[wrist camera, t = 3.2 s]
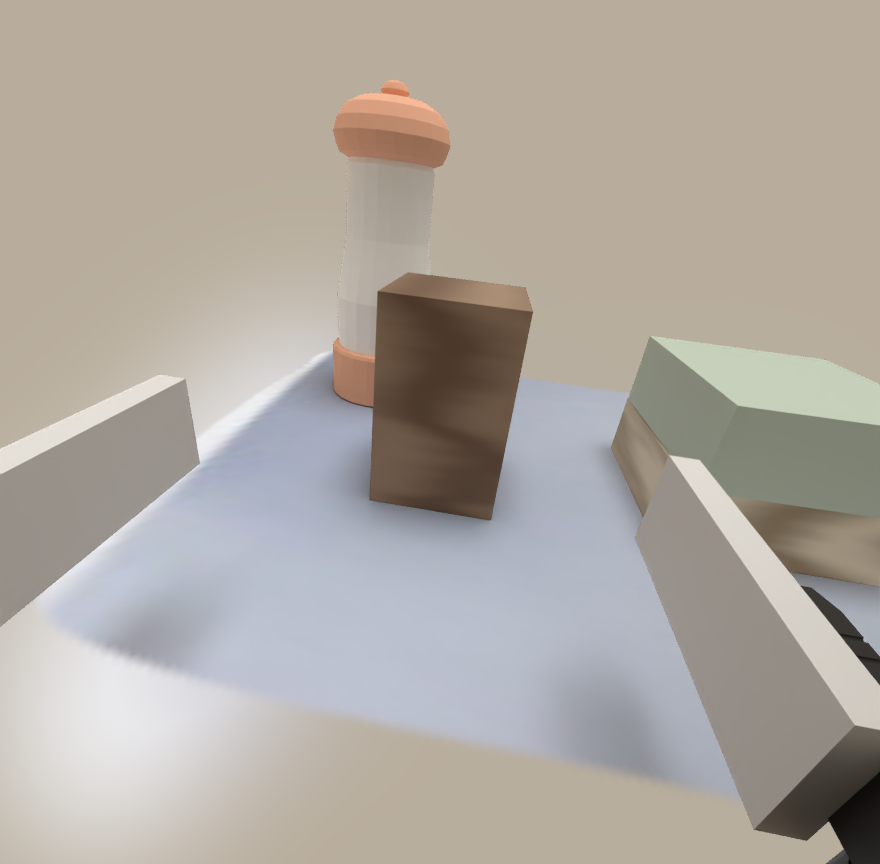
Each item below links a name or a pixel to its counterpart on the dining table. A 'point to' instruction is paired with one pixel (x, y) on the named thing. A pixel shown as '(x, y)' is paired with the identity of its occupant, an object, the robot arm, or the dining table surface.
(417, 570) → the dining table surface
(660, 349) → the tower top block
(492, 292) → the walnut block
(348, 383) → the pepper shaker
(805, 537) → the tower bottom block
